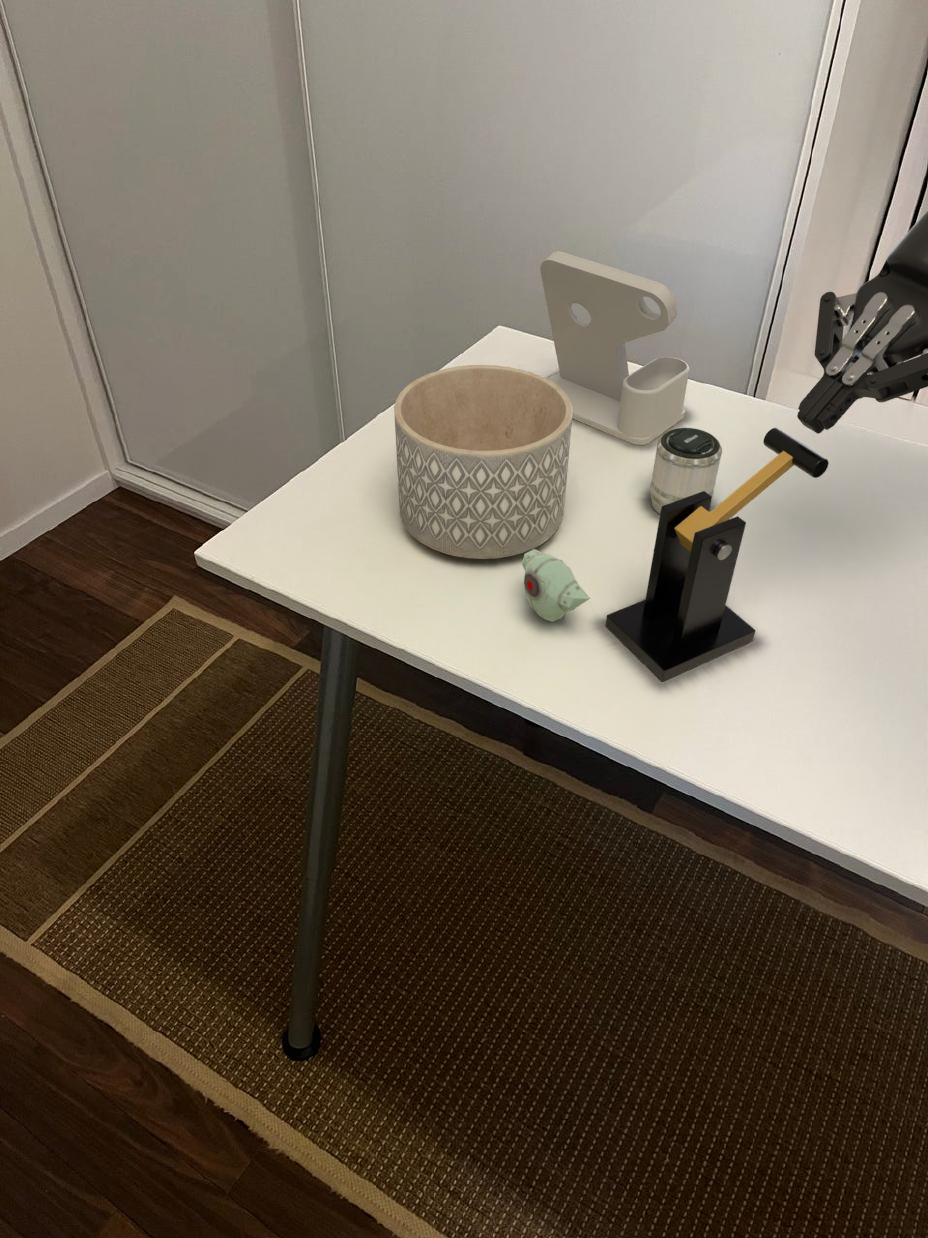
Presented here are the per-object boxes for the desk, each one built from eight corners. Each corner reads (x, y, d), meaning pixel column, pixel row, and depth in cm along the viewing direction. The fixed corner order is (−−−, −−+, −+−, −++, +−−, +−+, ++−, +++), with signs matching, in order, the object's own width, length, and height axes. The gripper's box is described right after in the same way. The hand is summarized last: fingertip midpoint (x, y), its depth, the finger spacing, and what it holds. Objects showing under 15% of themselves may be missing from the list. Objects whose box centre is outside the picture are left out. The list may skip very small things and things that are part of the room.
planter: (496, 457, 103) (500, 349, 95) (596, 529, 94) (610, 416, 85) (369, 507, 96) (360, 395, 88) (462, 592, 86) (463, 475, 78)
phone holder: (691, 414, 110) (720, 262, 98) (644, 449, 105) (667, 291, 92) (572, 368, 119) (584, 222, 107) (522, 398, 113) (529, 247, 101)
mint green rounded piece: (591, 636, 82) (599, 576, 77) (553, 654, 80) (559, 593, 76) (537, 586, 87) (542, 527, 82) (501, 602, 85) (503, 542, 81)
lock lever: (780, 439, 78) (776, 420, 76) (830, 471, 74) (827, 452, 72) (667, 534, 78) (660, 517, 76) (712, 570, 74) (706, 553, 72)
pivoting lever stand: (692, 589, 87) (718, 472, 78) (753, 641, 82) (787, 521, 73) (604, 625, 83) (621, 506, 74) (662, 682, 78) (686, 561, 69)
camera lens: (721, 505, 97) (736, 438, 91) (686, 530, 93) (699, 463, 88) (671, 480, 100) (683, 415, 95) (635, 504, 97) (645, 438, 91)
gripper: (884, 181, 71) (730, 367, 75) (1039, 237, 63) (857, 444, 67) (910, 239, 77) (766, 410, 81) (1055, 298, 68) (886, 485, 72)
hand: (807, 425), depth 74 cm, fingers closed
